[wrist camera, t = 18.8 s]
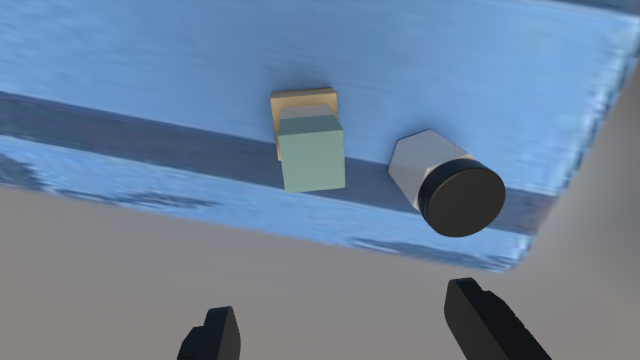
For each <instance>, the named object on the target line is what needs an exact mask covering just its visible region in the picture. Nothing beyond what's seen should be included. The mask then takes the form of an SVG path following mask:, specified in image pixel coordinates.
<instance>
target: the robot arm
mask: <svg viewBox="0 0 640 360" xmlns="http://www.w3.org/2000/svg"><path fill="white" fill-rule="evenodd" d="M444 313H445V318H446V322H447V324H448V326H449V328H450V330H451V331H452V333H453V335H454V337H455V339H456V341H457V342H458V344H459V346H460V348H461V350H462V351H463V353H464V355H465V357H466V359H467V360H552V359H551V358H550V356H549V355H548V354H547V353H546V352H545V350H544V349H543V348H542V347H541V345H540V344H539V343H538V342H537V341H536V339H535V338H534V337H533V336H532V334H530V332H529V331H528V330H527V329H525V327H524V325H523V324H522V322H521V321H520V320H519V319H518V318H517V317H516V316H515V314H514V313H513V311H512V310H511V309H510V308H509V306H508V305H507V304H506V303H505V302H504V301H503V300H502V299H500V298H499V297H498V296H496V295H495V294H494V293H492V292H491V291H483V290H482V289H481V287H480V286H479V285H478V284H477V282H476V281H475V280H474V279H473V278H461V279H454V280H453V279H452V280H450V281H449V283H448V288H447V294H446V300H445V306H444ZM240 345H241V344H240V333H239V329H238V326H237V322H236V319H235V315H234V311H233V308H232V307H231V306H228V307H220V308H212V309H209V310H208V313H207V315H206V319H205V322H204V326H199V327H193V329H192V330H191V331H190V333H189V334H188V335H187V337H186V338H185V339H184V341H183V342H182V345H181V348H180V351H179V354H178V356H177V360H239V356H240Z"/></svg>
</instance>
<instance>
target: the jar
mask: <svg viewBox="0 0 640 360" xmlns="http://www.w3.org/2000/svg"><path fill="white" fill-rule="evenodd" d="M388 173H389V174H390V176H391V177H392V178H393V180H394V181H395V182H396V184H397V185H398V186H399V188H400V189H401V190H402V192H403V193H404V194H405V196H406V197H407V198H408V200H409V201H410V202H411V204H412V205H413V206H414V207H415V208H416V209H417V210H418V211H420V212H421V214H422V216H423V218H424V219H425V221H426V222H427V223H428V224H429V225H430V226H431V227H432V228H433V229H434V230H435V231H436V232H437V233H439V234H441V235H443V236H447V237H465V236H469V235H472V234H474V233H477V232H479V231H480V230H482V229H484V228H485V227H486V226H488V225H489V224H490V223H491V222H492V221H493V220H494V219H495V218H496V217H497V215H498V214H499V212H500V211H501V209H502V207H503V204H504V201H505V186H504V183H503V181H502V179H501V178H500V177H499V176H498V175H497V174H496V173H495V172H494V171H492V170H490V169H489V168H487V167H486V166H484V165H483V164H481V163H480V162H478V161H477V160H476V159H475V158H474V157H473V156H472V155H471V154H470V153H468V152H466V151H465V150H463V149H462V148H460V147H459V146H457V145H456V144H454V143H452V142H451V141H449V140H448V139H446V138H445V137H443V136H441V135H440V134H438V133H437V132H435V131H434V130H432V129H429V130H426V131H423V132H421V133H418V134H415V135H412V136H409V137H406V138H403V139H401V140H398V141H397V144H396V147H395V150H394V154H393V157H392V160H391V163H390V166H389V169H388Z"/></svg>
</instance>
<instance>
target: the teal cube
mask: <svg viewBox="0 0 640 360" xmlns="http://www.w3.org/2000/svg"><path fill="white" fill-rule="evenodd" d="M278 140H279V147H280V155H281V162H282V170H283V178H284V185H285V193H286V194H287V193H296V192H306V191H316V190H325V189H335V188H345V169H344V136H343V128H342V127H341V125H340V123H339V122H338V120H337V118H336V117H335V115H323V116H311V117H300V118H289V119H280V121H279V131H278Z"/></svg>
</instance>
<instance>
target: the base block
mask: <svg viewBox="0 0 640 360" xmlns="http://www.w3.org/2000/svg"><path fill="white" fill-rule="evenodd" d="M270 101H271V108H272V116H273V123H274V131H275V138H276V145H277V153H278V160H281V155H280V147H279V140H278V131H279V121H280V111H281V108H283V107H295V106H306V105H317V104H328V105H329V107H330V109H331V110H332V112H333V114H334V115H335V117H336V118H337V93H336V92H335V91H334V90H333V88H332V87H329V88H317V89H305V90H292V91H280V92H272V94H271V97H270ZM337 120H338V118H337Z"/></svg>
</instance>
